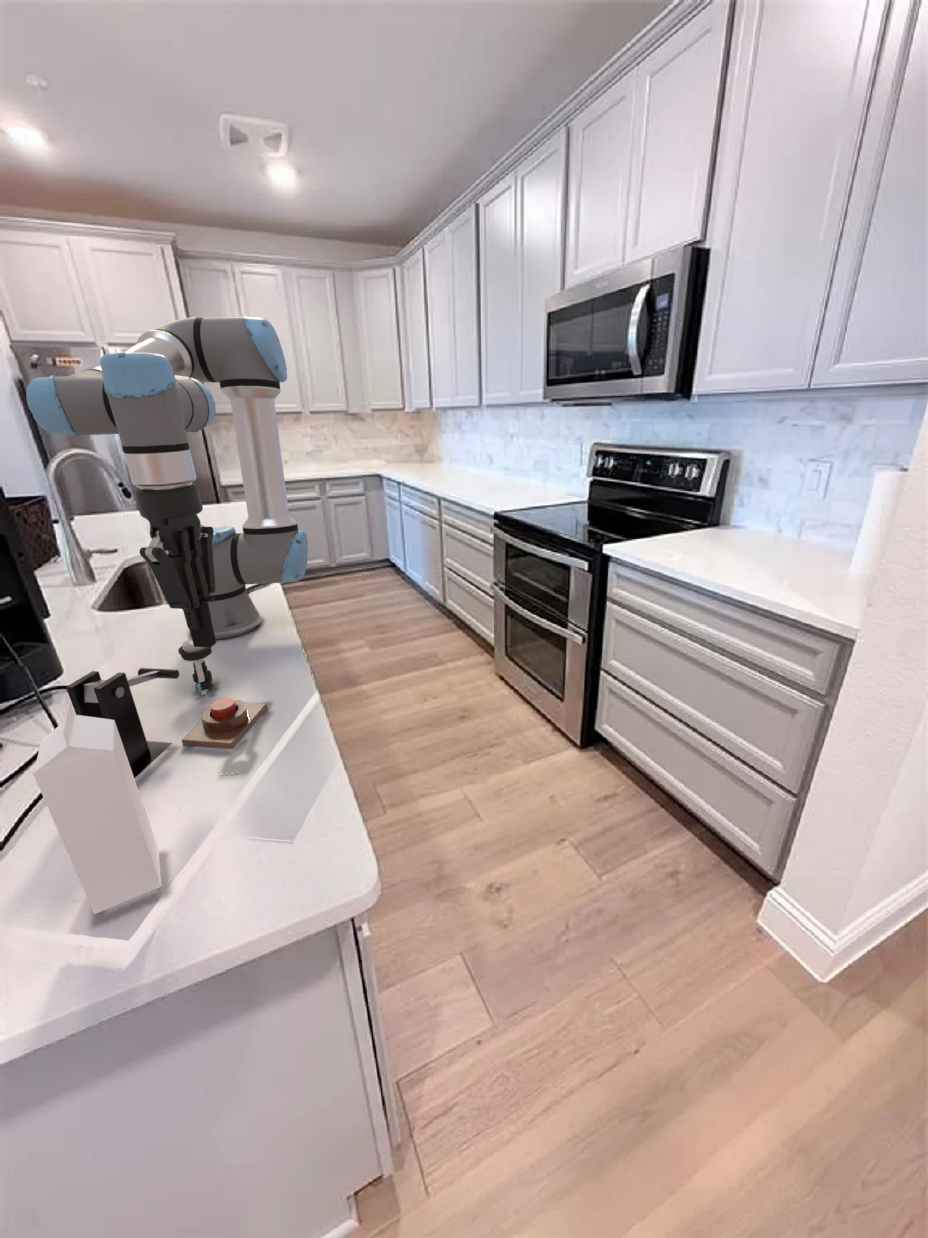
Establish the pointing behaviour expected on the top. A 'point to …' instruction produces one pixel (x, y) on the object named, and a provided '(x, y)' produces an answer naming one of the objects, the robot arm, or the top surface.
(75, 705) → the switch bracket
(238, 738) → the button block
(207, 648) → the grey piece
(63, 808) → the milk
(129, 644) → the top surface
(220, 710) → the button
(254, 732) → the top surface
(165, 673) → the switch lever
